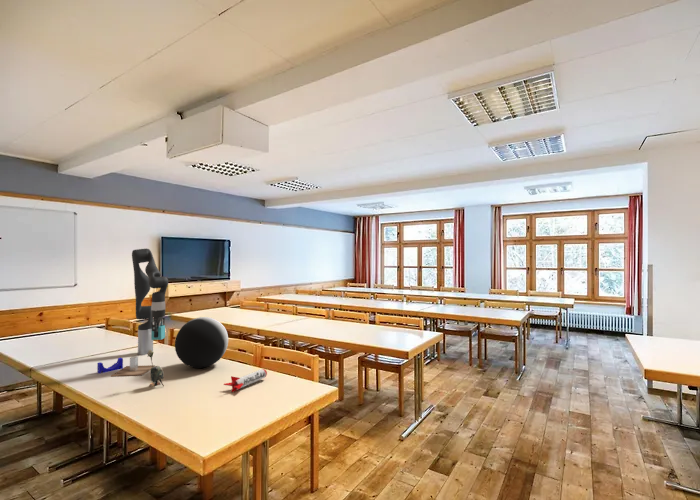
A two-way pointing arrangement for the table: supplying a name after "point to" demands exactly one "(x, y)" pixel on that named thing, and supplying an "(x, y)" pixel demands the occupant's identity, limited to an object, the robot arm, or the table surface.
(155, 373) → the plant with pod
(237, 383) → the model rocket
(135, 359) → the steel post
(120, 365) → the cable clip
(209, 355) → the black ball
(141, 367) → the walnut board
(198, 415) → the table surface
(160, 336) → the aqua box
